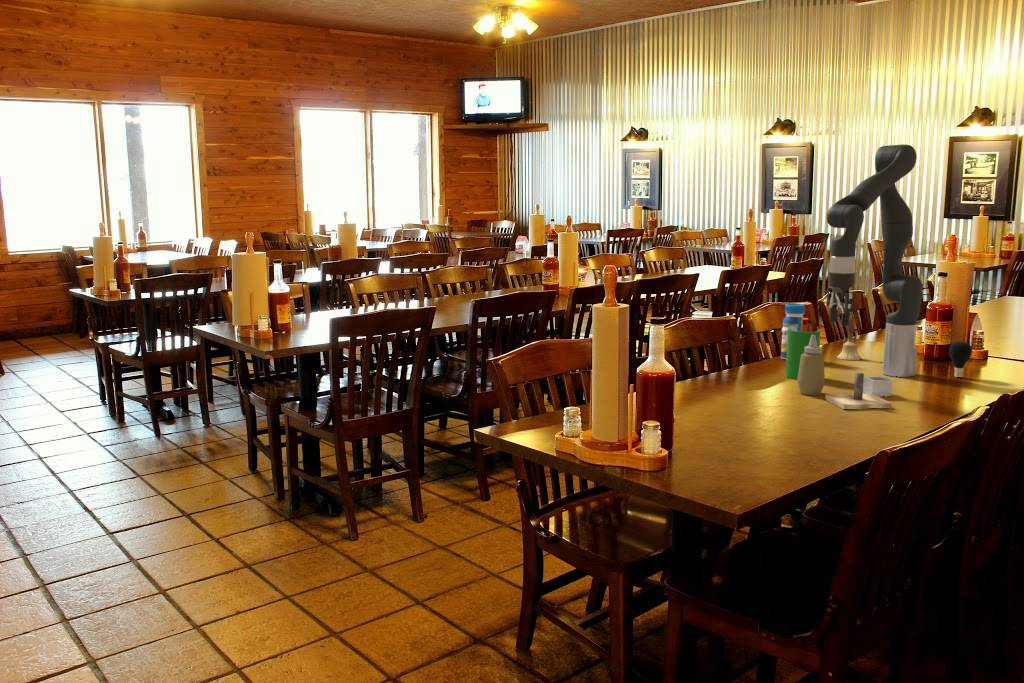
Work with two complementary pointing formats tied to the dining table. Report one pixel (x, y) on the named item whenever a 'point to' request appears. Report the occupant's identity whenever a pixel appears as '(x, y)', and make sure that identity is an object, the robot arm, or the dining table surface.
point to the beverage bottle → (791, 323)
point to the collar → (877, 386)
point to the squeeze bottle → (811, 369)
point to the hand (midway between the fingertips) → (839, 323)
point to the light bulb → (960, 356)
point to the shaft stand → (858, 397)
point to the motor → (798, 347)
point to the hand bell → (850, 344)
